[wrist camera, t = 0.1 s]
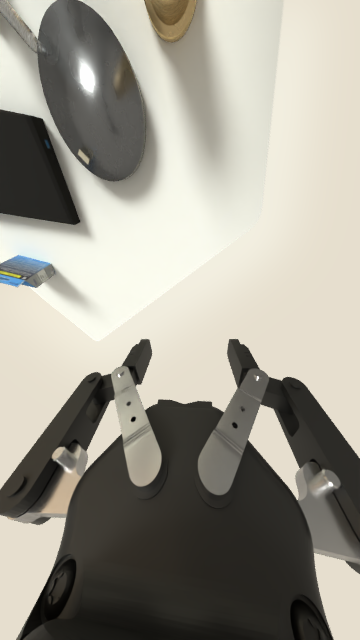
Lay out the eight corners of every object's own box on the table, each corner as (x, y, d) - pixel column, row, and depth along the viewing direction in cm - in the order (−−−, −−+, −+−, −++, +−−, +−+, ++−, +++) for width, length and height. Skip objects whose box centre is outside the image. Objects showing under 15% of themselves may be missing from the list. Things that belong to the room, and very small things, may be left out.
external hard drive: (-111, 88, 21) (-142, 81, 19) (44, 119, 22) (30, 115, 20) (-20, 205, 32) (-33, 208, 30) (81, 221, 33) (74, 225, 31)
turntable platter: (40, 117, 21) (31, 114, 20) (56, -62, 13) (43, -83, 12) (121, 200, 29) (118, 201, 27) (163, 115, 21) (161, 112, 20)
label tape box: (25, 266, 43) (-13, 289, 35) (17, 253, 40) (-27, 276, 32) (56, 273, 45) (26, 297, 37) (50, 262, 42) (17, 285, 34)
